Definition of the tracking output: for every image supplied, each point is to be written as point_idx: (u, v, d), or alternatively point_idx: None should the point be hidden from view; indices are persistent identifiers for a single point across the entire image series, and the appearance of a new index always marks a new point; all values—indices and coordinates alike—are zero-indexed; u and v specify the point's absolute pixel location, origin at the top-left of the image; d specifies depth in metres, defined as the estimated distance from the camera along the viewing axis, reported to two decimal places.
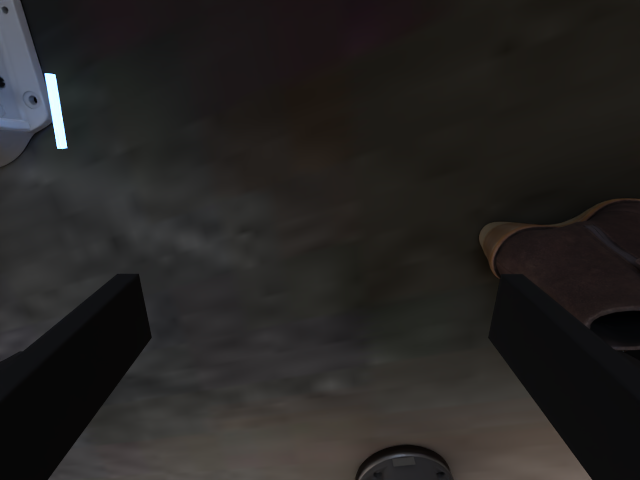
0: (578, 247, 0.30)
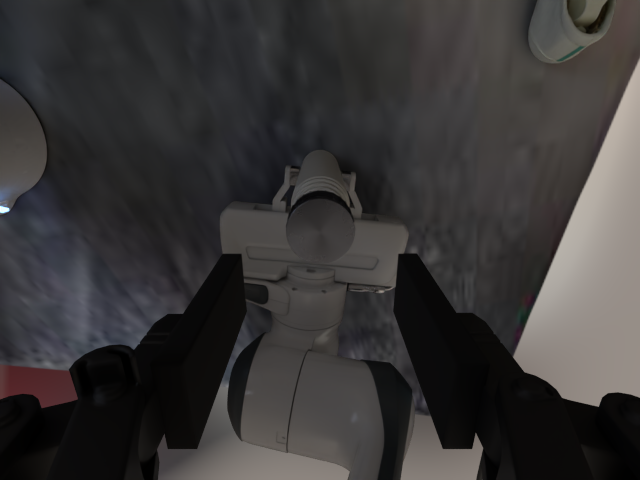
0: None
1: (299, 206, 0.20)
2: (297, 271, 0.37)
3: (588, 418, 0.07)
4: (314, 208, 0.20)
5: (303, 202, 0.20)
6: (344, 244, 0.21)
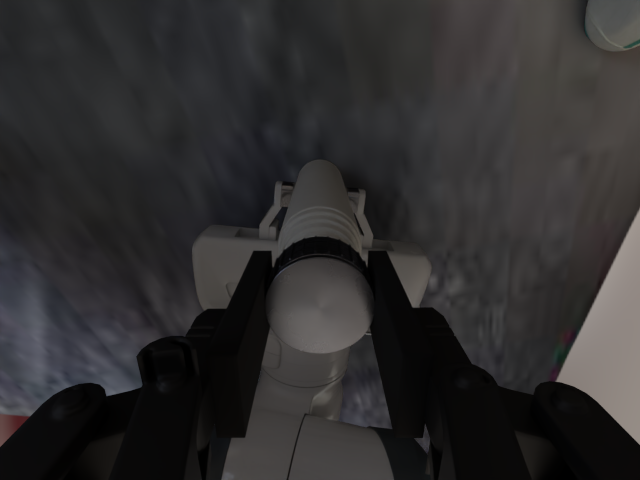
0: None
1: (285, 269, 0.12)
2: None
3: (524, 406, 0.08)
4: (310, 272, 0.12)
5: (292, 262, 0.12)
6: (358, 326, 0.13)
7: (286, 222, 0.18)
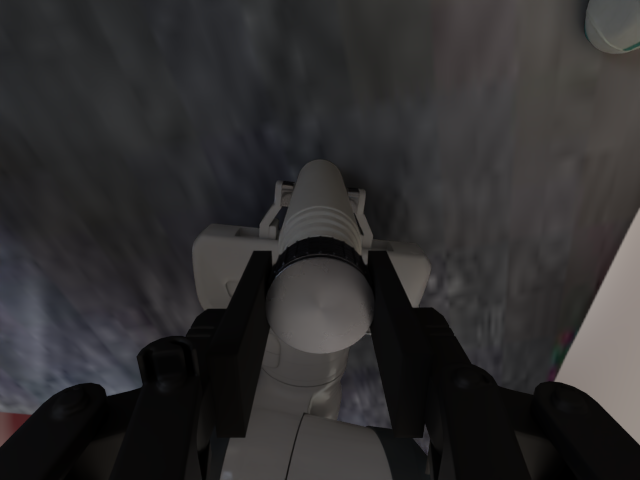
0: None
1: (277, 334, 0.13)
2: None
3: (524, 406, 0.08)
4: (280, 315, 0.13)
5: None
6: (342, 274, 0.12)
7: (286, 221, 0.18)
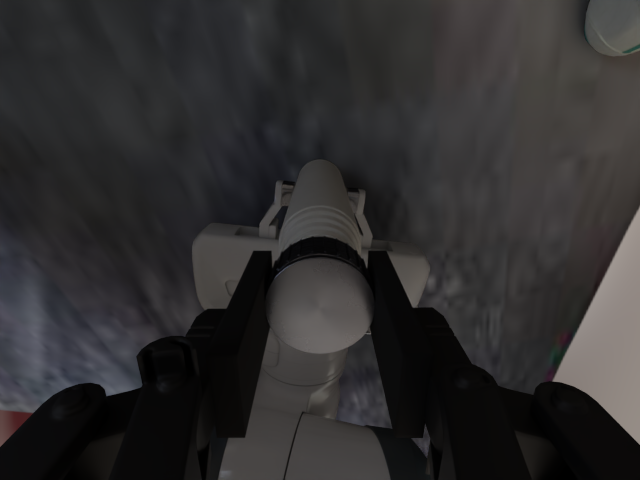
0: None
1: (349, 345, 0.13)
2: None
3: (524, 406, 0.08)
4: (326, 342, 0.13)
5: None
6: (281, 288, 0.12)
7: (287, 221, 0.18)
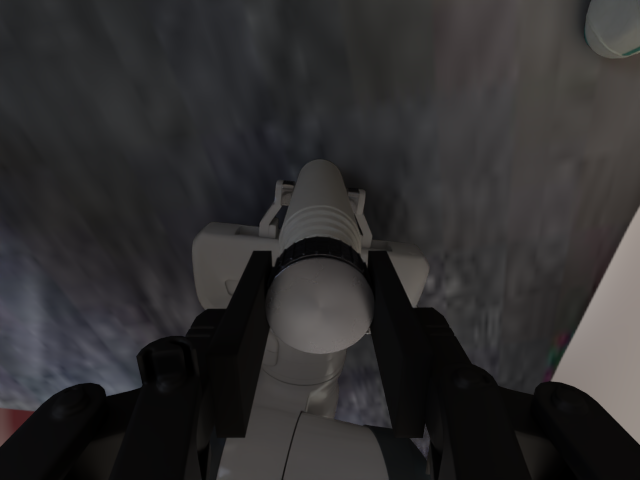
0: None
1: (366, 282, 0.12)
2: None
3: (524, 406, 0.08)
4: (360, 303, 0.13)
5: (371, 286, 0.13)
6: (297, 340, 0.13)
7: (287, 220, 0.18)
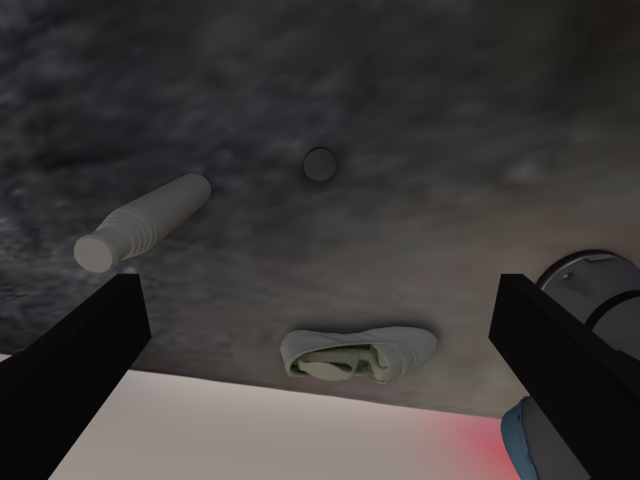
0: None
1: (306, 173, 0.44)
2: None
3: None
4: (308, 166, 0.44)
5: (305, 170, 0.44)
6: (327, 154, 0.44)
7: (143, 212, 0.31)
